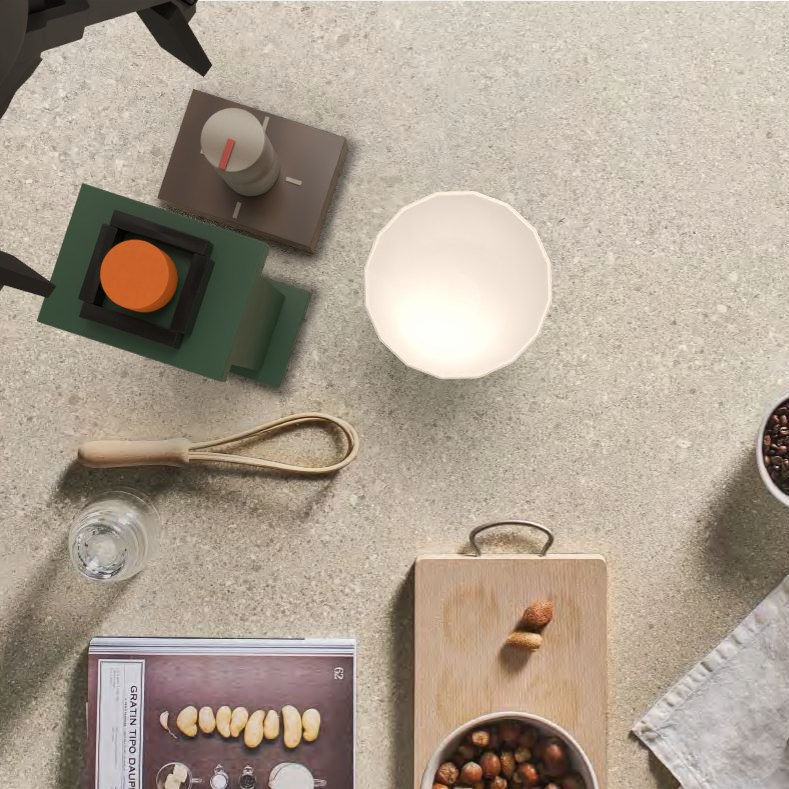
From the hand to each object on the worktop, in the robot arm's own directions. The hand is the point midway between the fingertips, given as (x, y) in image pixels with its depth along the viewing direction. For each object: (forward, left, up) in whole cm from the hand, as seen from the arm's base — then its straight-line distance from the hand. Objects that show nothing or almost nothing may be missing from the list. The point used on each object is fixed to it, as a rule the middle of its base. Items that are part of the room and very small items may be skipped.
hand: (108, 166), depth 44 cm
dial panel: (-1, +9, -35) cm, 36 cm away
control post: (+1, -4, -35) cm, 35 cm away
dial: (-1, +9, -32) cm, 33 cm away
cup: (+19, +3, -35) cm, 40 cm away
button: (+1, -5, -8) cm, 10 cm away
